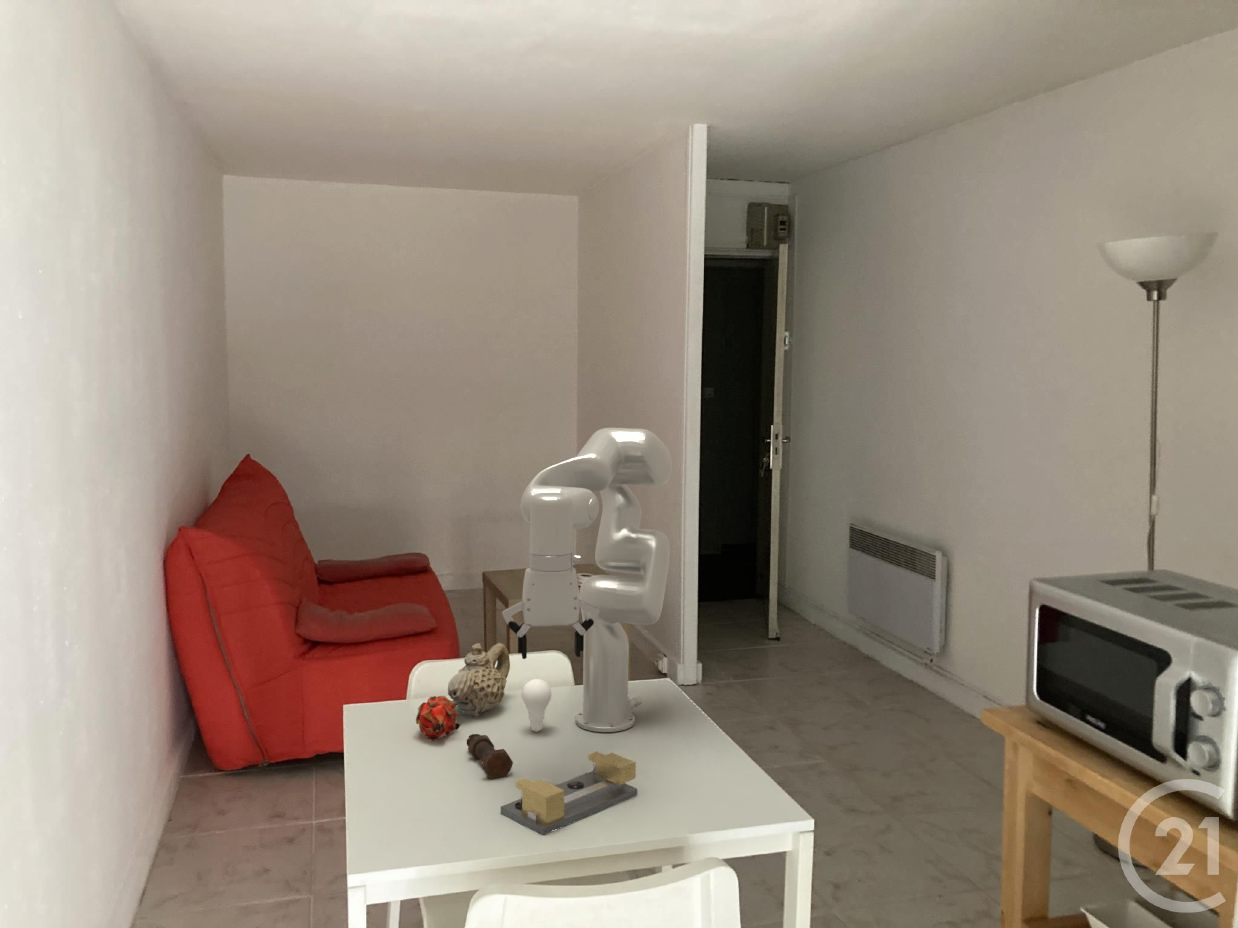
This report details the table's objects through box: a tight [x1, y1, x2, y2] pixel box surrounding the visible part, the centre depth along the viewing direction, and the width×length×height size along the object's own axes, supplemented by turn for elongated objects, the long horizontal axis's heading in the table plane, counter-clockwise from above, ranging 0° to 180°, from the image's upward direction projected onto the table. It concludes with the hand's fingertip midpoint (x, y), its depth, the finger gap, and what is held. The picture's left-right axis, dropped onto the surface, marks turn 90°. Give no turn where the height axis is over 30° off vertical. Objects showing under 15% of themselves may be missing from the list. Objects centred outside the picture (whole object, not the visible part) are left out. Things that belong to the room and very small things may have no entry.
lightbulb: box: [521, 678, 552, 733], centre depth 209 cm, size 6×6×11 cm
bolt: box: [466, 733, 514, 780], centre depth 193 cm, size 6×5×15 cm
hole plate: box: [500, 770, 638, 836], centre depth 176 cm, size 22×11×6 cm, turn 135°
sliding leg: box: [587, 751, 637, 785], centre depth 182 cm, size 4×9×4 cm, turn 45°
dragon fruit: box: [415, 695, 462, 742], centre depth 207 cm, size 8×8×12 cm
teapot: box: [447, 642, 511, 717], centre depth 221 cm, size 21×12×15 cm, turn 155°
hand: (550, 655), depth 183 cm, fingers open, 9 cm apart
